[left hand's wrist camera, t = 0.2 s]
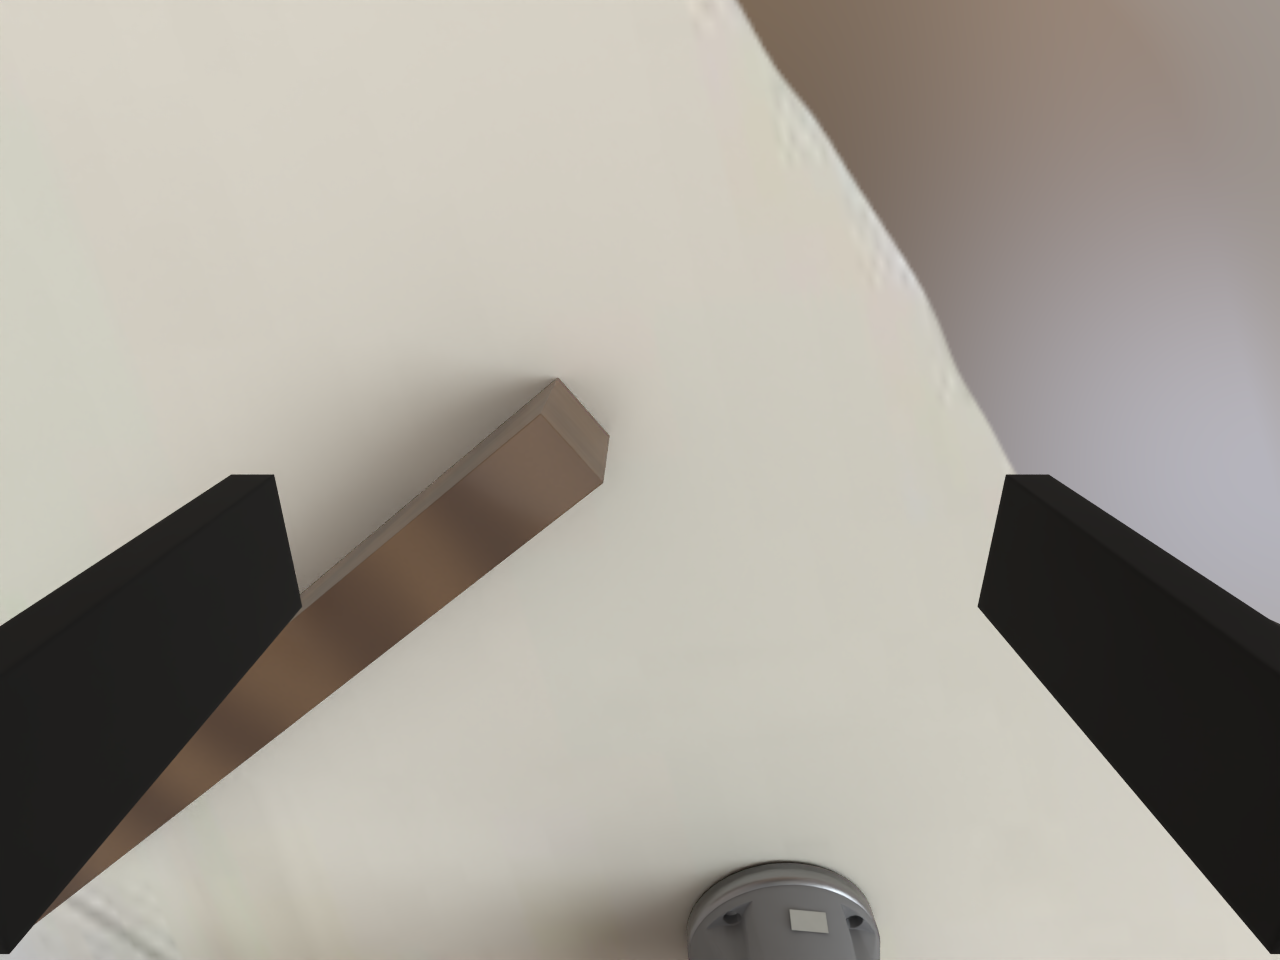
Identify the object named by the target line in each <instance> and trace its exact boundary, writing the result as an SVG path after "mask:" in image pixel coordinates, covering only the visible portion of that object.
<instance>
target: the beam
mask: <svg viewBox="0 0 1280 960" xmlns="http://www.w3.org/2000/svg"><path fill="white" fill-rule="evenodd" d="M608 443H609V435H608V434H607V433H606V431H605V430H604V429H603V428H602V427H601V426H600V425H599V423H598V422H597V421H596V420H595V419H594V418H593V417H592V416H591V414H590V413H589V412H588V411H587V410H586V409H585V408H584V406H583V405H582V404H581V403H580V402H579V401H578V400H577V399H576V397H575V396H574V395H573V394H572V393H571V392H570V391H569V389H568V388H567V387H566V386H565V385H564V384H563V383H562V382H561V380H560V379H559V378H557V379H556V380H554V381H553V382H552V383H551V384H550V385H548V386H547V387H546V388H545V389H544V390H543V391H541V392H540V393H539V394H538V395H537V396H535V397H534V398H533V399H532V400H531V401H529V402H528V403H527V404H526V405H525V406H523V407H522V408H521V409H520V410H519V411H518V412H516V413H515V414H514V415H513V416H512V417H510V418H509V419H508V420H507V421H506V422H504V423H503V424H502V425H501V426H500V427H499V428H497V429H496V430H495V431H494V432H493V433H491V434H490V435H489V436H488V437H487V438H485V439H484V440H483V441H482V442H481V443H480V444H478V445H477V446H476V447H475V448H474V449H472V450H471V451H470V452H469V453H468V454H466V455H465V456H464V457H463V458H462V459H461V460H459V461H458V462H457V463H456V464H455V465H453V466H452V467H451V468H450V469H449V470H447V471H446V472H445V473H444V474H443V475H442V476H440V477H439V478H438V479H437V480H436V481H434V482H433V483H432V484H431V485H430V486H428V487H427V488H426V489H425V490H424V491H423V492H421V493H420V494H419V495H418V496H417V497H415V498H414V499H413V500H412V501H411V502H409V503H408V504H407V505H406V506H405V507H404V508H402V509H401V510H400V511H399V512H398V513H396V514H395V515H394V516H393V517H392V518H390V519H389V520H388V521H387V522H386V523H385V524H383V525H382V526H381V527H380V528H379V529H377V530H376V531H375V532H374V533H373V534H371V535H370V536H369V537H368V538H367V539H366V540H364V541H363V542H362V543H361V544H360V545H358V546H357V547H356V548H355V549H354V550H352V551H351V552H350V553H349V554H348V555H347V556H345V557H344V558H343V559H342V560H341V561H339V562H338V563H337V564H336V565H335V566H333V567H332V568H331V569H330V570H329V571H328V572H326V573H325V574H324V575H323V576H322V577H320V578H319V579H318V580H317V581H316V582H314V583H313V584H312V585H311V586H310V587H309V588H307V589H306V590H305V591H304V592H303V593H301V594H300V598H301V603H302V608H301V609H300V610H299V611H298V612H297V614H296V615H295V616H294V617H293V618H292V620H291V621H290V622H289V623H288V624H287V625H286V627H285V628H284V629H283V630H282V631H281V633H280V634H279V635H278V636H277V637H276V639H275V640H274V641H273V642H272V643H271V644H270V646H269V647H268V648H267V649H266V650H265V652H264V653H263V654H262V655H261V656H260V657H259V659H258V660H257V661H256V662H255V663H254V665H253V666H252V667H251V668H250V669H249V671H248V672H247V673H246V674H245V675H244V676H243V678H242V679H241V680H240V681H239V682H238V684H237V685H236V686H235V687H234V688H233V689H232V691H231V692H230V693H229V694H228V695H227V697H226V698H225V699H224V700H223V701H222V703H221V704H220V705H219V706H218V707H217V708H216V710H215V711H214V712H213V713H212V714H211V716H210V717H209V718H208V719H207V720H206V721H205V723H204V724H203V725H202V726H201V727H200V729H199V730H198V731H197V732H196V733H195V735H194V736H193V737H192V738H191V739H190V740H189V742H188V743H187V744H186V745H185V746H184V748H183V749H182V750H181V751H180V752H179V753H178V755H177V756H176V757H175V758H174V759H173V761H172V762H171V763H170V764H169V765H168V767H167V768H166V769H165V770H164V771H163V772H162V774H161V775H160V776H159V777H158V778H157V780H156V781H155V782H154V783H153V784H152V785H151V787H150V788H149V789H148V790H147V791H146V793H145V794H144V795H143V796H142V797H141V799H140V800H139V801H138V802H137V803H136V804H135V806H134V807H133V808H132V809H131V810H130V812H129V813H128V814H127V815H126V816H125V817H124V819H123V820H122V821H121V822H120V823H119V825H118V826H117V827H116V828H115V829H114V831H113V832H112V833H111V834H110V835H109V836H108V838H107V839H106V840H105V841H104V842H103V844H102V845H101V846H100V847H99V848H98V849H97V851H96V852H95V853H94V854H93V855H92V857H91V858H90V859H89V860H88V861H87V863H86V864H85V865H84V866H83V867H82V868H81V870H80V871H79V872H78V873H77V874H76V876H75V877H74V878H73V879H72V880H71V881H70V883H69V884H68V885H67V886H66V887H65V889H64V890H63V891H62V892H61V893H60V895H59V896H58V897H57V898H56V899H55V900H54V902H53V903H52V904H51V905H50V906H49V908H48V909H47V910H46V911H45V912H44V913H43V915H42V916H41V917H40V918H39V919H38V921H40V920H41V919H42V918H44V917H45V916H46V915H47V914H49V913H50V912H51V911H53V910H54V909H55V908H56V907H58V906H59V905H60V904H62V903H63V902H64V901H65V900H67V899H68V898H69V897H71V896H72V895H73V894H74V893H76V892H77V891H78V890H80V889H81V888H82V887H83V886H85V885H86V884H87V883H89V882H90V881H91V880H92V879H94V878H95V877H96V876H98V875H99V874H100V873H101V872H103V871H104V870H105V869H107V868H108V867H109V866H110V865H112V864H113V863H114V862H116V861H117V860H118V859H119V858H121V857H122V856H123V855H125V854H126V853H127V852H128V851H130V850H131V849H132V848H134V847H135V846H136V845H138V844H139V843H140V842H141V841H143V840H144V839H145V838H147V837H148V836H149V835H150V834H152V833H153V832H154V831H156V830H157V829H158V828H159V827H161V826H162V825H163V824H165V823H166V822H167V821H168V820H170V819H171V818H172V817H174V816H175V815H176V814H177V813H179V812H180V811H181V810H183V809H184V808H185V807H186V806H188V805H189V804H190V803H192V802H193V801H194V800H195V799H197V798H198V797H199V796H201V795H202V794H203V793H204V792H206V791H207V790H208V789H210V788H211V787H212V786H213V785H215V784H216V783H217V782H219V781H220V780H221V779H222V778H224V777H225V776H226V775H228V774H229V773H230V772H231V771H233V770H234V769H235V768H237V767H238V766H239V765H240V764H242V763H243V762H244V761H246V760H247V759H248V758H250V757H251V756H252V755H253V754H255V753H256V752H257V751H259V750H260V749H261V748H262V747H264V746H265V745H266V744H268V743H269V742H270V741H271V740H273V739H274V738H275V737H277V736H278V735H279V734H280V733H282V732H283V731H284V730H286V729H287V728H288V727H289V726H291V725H292V724H293V723H295V722H296V721H297V720H298V719H300V718H301V717H302V716H304V715H305V714H306V713H307V712H309V711H310V710H311V709H313V708H314V707H315V706H316V705H318V704H319V703H320V702H322V701H323V700H324V699H325V698H327V697H328V696H329V695H331V694H332V693H333V692H334V691H336V690H337V689H338V688H340V687H341V686H342V685H343V684H345V683H346V682H347V681H349V680H350V679H351V678H352V677H354V676H355V675H356V674H358V673H359V672H360V671H362V670H363V669H364V668H365V667H367V666H368V665H369V664H371V663H372V662H373V661H374V660H376V659H377V658H378V657H380V656H381V655H382V654H383V653H385V652H386V651H387V650H389V649H390V648H391V647H392V646H394V645H395V644H396V643H398V642H399V641H400V640H401V639H403V638H404V637H405V636H407V635H408V634H409V633H410V632H412V631H413V630H414V629H416V628H417V627H418V626H419V625H421V624H422V623H423V622H425V621H426V620H427V619H428V618H430V617H431V616H432V615H434V614H435V613H436V612H437V611H439V610H440V609H441V608H443V607H444V606H445V605H446V604H448V603H449V602H450V601H452V600H453V599H454V598H455V597H457V596H458V595H459V594H461V593H462V592H463V591H464V590H466V589H467V588H468V587H470V586H471V585H472V584H474V583H475V582H476V581H477V580H479V579H480V578H481V577H483V576H484V575H485V574H486V573H488V572H489V571H490V570H492V569H493V568H494V567H495V566H497V565H498V564H499V563H501V562H502V561H503V560H504V559H506V558H507V557H508V556H510V555H511V554H512V553H513V552H515V551H516V550H517V549H519V548H520V547H521V546H522V545H524V544H525V543H526V542H528V541H529V540H530V539H531V538H533V537H534V536H535V535H537V534H538V533H539V532H540V531H542V530H543V529H544V528H546V527H547V526H548V525H549V524H551V523H552V522H553V521H555V520H556V519H557V518H558V517H560V516H561V515H562V514H564V513H565V512H566V511H567V510H569V509H570V508H571V507H573V506H574V505H575V504H576V503H578V502H579V501H580V500H582V499H583V498H584V497H585V496H587V495H588V494H589V493H591V492H592V491H593V490H595V489H596V488H597V487H598V486H600V485H601V484H602V483H603V481H604V473H605V466H606V458H607V451H608ZM38 921H37V922H38ZM37 922H36V923H37ZM36 923H35V924H36ZM35 924H34V925H35Z"/></svg>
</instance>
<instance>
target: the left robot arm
mask: <svg viewBox="0 0 1280 960" xmlns="http://www.w3.org/2000/svg"><path fill="white" fill-rule="evenodd" d="M301 608H302V603H301V598H300V593H299V589H298V584H297V579H296V575H295V570H294V565H293V561H292V556H291V551H290V547H289V542H288V537H287V533H286V528H285V523H284V519H283V514H282V509H281V505H280V500H279V495H278V491H277V486H276V481H275V477H274V475H230V476H228V477H227V478H225V479H224V480H222V481H221V482H219V483H218V484H216V485H215V486H213V487H212V488H210V489H209V490H207V491H206V492H204V493H203V494H201V495H199V496H198V497H196V498H195V499H193V500H192V501H190V502H189V503H187V504H186V505H184V506H183V507H181V508H180V509H178V510H177V511H175V512H174V513H172V514H171V515H169V516H167V517H166V518H164V519H163V520H161V521H160V522H158V523H157V524H155V525H154V526H152V527H151V528H149V529H148V530H146V531H145V532H143V533H142V534H140V535H139V536H137V537H135V538H134V539H132V540H131V541H129V542H128V543H126V544H125V545H123V546H122V547H120V548H119V549H117V550H116V551H114V552H113V553H111V554H110V555H108V556H107V557H105V558H103V559H102V560H100V561H99V562H97V563H96V564H94V565H93V566H91V567H90V568H88V569H87V570H85V571H84V572H82V573H81V574H79V575H78V576H76V577H74V578H73V579H71V580H70V581H68V582H67V583H65V584H64V585H62V586H61V587H59V588H58V589H56V590H55V591H53V592H52V593H50V594H49V595H47V596H46V597H44V598H42V599H41V600H39V601H38V602H36V603H35V604H33V605H32V606H30V607H29V608H27V609H26V610H24V611H23V612H21V613H20V614H18V615H17V616H15V617H14V618H12V619H10V620H9V621H7V622H6V623H4V624H3V625H1V626H0V954H10V953H11V951H12V950H13V949H14V948H15V947H16V945H17V944H18V943H19V942H20V941H21V940H22V938H23V937H24V936H25V935H26V934H27V932H28V931H29V930H30V929H31V928H32V927H33V925H34V924H35V923H36V922H37V921H38V919H39V918H40V917H41V916H42V915H43V913H44V912H45V911H46V910H47V909H48V908H49V906H50V905H51V904H52V903H53V902H54V900H55V899H56V898H57V897H58V896H59V895H60V893H61V892H62V891H63V890H64V889H65V887H66V886H67V885H68V884H69V883H70V881H71V880H72V879H73V878H74V877H75V876H76V874H77V873H78V872H79V871H80V870H81V868H82V867H83V866H84V865H85V864H86V863H87V861H88V860H89V859H90V858H91V857H92V855H93V854H94V853H95V852H96V851H97V849H98V848H99V847H100V846H101V845H102V844H103V842H104V841H105V840H106V839H107V838H108V836H109V835H110V834H111V833H112V832H113V831H114V829H115V828H116V827H117V826H118V825H119V823H120V822H121V821H122V820H123V819H124V817H125V816H126V815H127V814H128V813H129V812H130V810H131V809H132V808H133V807H134V806H135V804H136V803H137V802H138V801H139V800H140V799H141V797H142V796H143V795H144V794H145V793H146V791H147V790H148V789H149V788H150V787H151V785H152V784H153V783H154V782H155V781H156V780H157V778H158V777H159V776H160V775H161V774H162V772H163V771H164V770H165V769H166V768H167V767H168V765H169V764H170V763H171V762H172V761H173V759H174V758H175V757H176V756H177V755H178V753H179V752H180V751H181V750H182V749H183V748H184V746H185V745H186V744H187V743H188V742H189V740H190V739H191V738H192V737H193V736H194V735H195V733H196V732H197V731H198V730H199V729H200V727H201V726H202V725H203V724H204V723H205V721H206V720H207V719H208V718H209V717H210V716H211V714H212V713H213V712H214V711H215V710H216V708H217V707H218V706H219V705H220V704H221V703H222V701H223V700H224V699H225V698H226V697H227V695H228V694H229V693H230V692H231V691H232V689H233V688H234V687H235V686H236V685H237V684H238V682H239V681H240V680H241V679H242V678H243V676H244V675H245V674H246V673H247V672H248V671H249V669H250V668H251V667H252V666H253V665H254V663H255V662H256V661H257V660H258V659H259V657H260V656H261V655H262V654H263V653H264V652H265V650H266V649H267V648H268V647H269V646H270V644H271V643H272V642H273V641H274V640H275V639H276V637H277V636H278V635H279V634H280V633H281V631H282V630H283V629H284V628H285V627H286V625H287V624H288V623H289V622H290V621H291V620H292V618H293V617H294V616H295V615H296V614H297V612H298V611H299V610H300V609H301ZM978 608H979V609H980V610H981V611H982V612H983V614H984V615H985V616H986V617H987V618H988V620H989V621H990V622H991V623H992V624H993V625H994V627H995V628H996V629H997V630H998V631H999V633H1000V634H1001V635H1002V636H1003V637H1004V639H1005V640H1006V641H1007V642H1008V643H1009V644H1010V646H1011V647H1012V648H1013V649H1014V650H1015V652H1016V653H1017V654H1018V655H1019V656H1020V657H1021V659H1022V660H1023V661H1024V662H1025V663H1026V665H1027V666H1028V667H1029V668H1030V669H1031V671H1032V672H1033V673H1034V674H1035V675H1036V676H1037V678H1038V679H1039V680H1040V681H1041V682H1042V684H1043V685H1044V686H1045V687H1046V688H1047V689H1048V691H1049V692H1050V693H1051V694H1052V695H1053V697H1054V698H1055V699H1056V700H1057V701H1058V703H1059V704H1060V705H1061V706H1062V707H1063V708H1064V710H1065V711H1066V712H1067V713H1068V714H1069V716H1070V717H1071V718H1072V719H1073V720H1074V721H1075V723H1076V724H1077V725H1078V726H1079V727H1080V729H1081V730H1082V731H1083V732H1084V733H1085V735H1086V736H1087V737H1088V738H1089V739H1090V740H1091V742H1092V743H1093V744H1094V745H1095V746H1096V748H1097V749H1098V750H1099V751H1100V752H1101V753H1102V755H1103V756H1104V757H1105V758H1106V759H1107V761H1108V762H1109V763H1110V764H1111V765H1112V767H1113V768H1114V769H1115V770H1116V771H1117V772H1118V774H1119V775H1120V776H1121V777H1122V778H1123V780H1124V781H1125V782H1126V783H1127V784H1128V785H1129V787H1130V788H1131V789H1132V790H1133V791H1134V793H1135V794H1136V795H1137V796H1138V797H1139V799H1140V800H1141V801H1142V802H1143V803H1144V804H1145V806H1146V807H1147V808H1148V809H1149V810H1150V812H1151V813H1152V814H1153V815H1154V816H1155V817H1156V819H1157V820H1158V821H1159V822H1160V823H1161V825H1162V826H1163V827H1164V828H1165V829H1166V831H1167V832H1168V833H1169V834H1170V835H1171V836H1172V838H1173V839H1174V840H1175V841H1176V842H1177V844H1178V845H1179V846H1180V847H1181V848H1182V849H1183V851H1184V852H1185V853H1186V854H1187V855H1188V857H1189V858H1190V859H1191V860H1192V861H1193V863H1194V864H1195V865H1196V866H1197V867H1198V868H1199V870H1200V871H1201V872H1202V873H1203V874H1204V876H1205V877H1206V878H1207V879H1208V880H1209V881H1210V883H1211V884H1212V885H1213V886H1214V887H1215V889H1216V890H1217V891H1218V892H1219V893H1220V895H1221V896H1222V897H1223V898H1224V899H1225V900H1226V902H1227V903H1228V904H1229V905H1230V906H1231V908H1232V909H1233V910H1234V911H1235V912H1236V913H1237V915H1238V916H1239V917H1240V918H1241V919H1242V921H1243V922H1244V923H1245V924H1246V925H1247V927H1248V928H1249V929H1250V930H1251V931H1252V932H1253V934H1254V935H1255V936H1256V937H1257V938H1258V940H1259V941H1260V942H1261V943H1262V944H1263V945H1264V947H1265V948H1266V949H1267V950H1268V951H1269V953H1270V954H1280V624H1279V623H1276V622H1274V621H1272V620H1270V619H1268V618H1266V617H1265V616H1263V615H1262V614H1260V613H1259V612H1257V611H1256V610H1254V609H1253V608H1251V607H1250V606H1248V605H1247V604H1245V603H1244V602H1242V601H1241V600H1239V599H1238V598H1236V597H1234V596H1233V595H1231V594H1230V593H1228V592H1227V591H1225V590H1224V589H1222V588H1221V587H1219V586H1218V585H1216V584H1215V583H1213V582H1212V581H1210V580H1209V579H1207V578H1205V577H1204V576H1202V575H1201V574H1199V573H1198V572H1196V571H1195V570H1193V569H1192V568H1190V567H1189V566H1187V565H1186V564H1184V563H1183V562H1181V561H1180V560H1178V559H1176V558H1175V557H1173V556H1172V555H1170V554H1169V553H1167V552H1166V551H1164V550H1163V549H1161V548H1160V547H1158V546H1157V545H1155V544H1154V543H1152V542H1151V541H1149V540H1148V539H1146V538H1145V537H1143V536H1141V535H1140V534H1138V533H1137V532H1135V531H1134V530H1132V529H1131V528H1129V527H1128V526H1126V525H1125V524H1123V523H1122V522H1120V521H1119V520H1117V519H1116V518H1114V517H1113V516H1111V515H1109V514H1108V513H1106V512H1105V511H1103V510H1102V509H1100V508H1099V507H1097V506H1096V505H1094V504H1093V503H1091V502H1090V501H1088V500H1087V499H1085V498H1084V497H1082V496H1081V495H1079V494H1077V493H1076V492H1074V491H1073V490H1071V489H1070V488H1068V487H1067V486H1065V485H1064V484H1062V483H1061V482H1059V481H1058V480H1056V479H1055V478H1053V477H1052V476H1050V475H1006V477H1005V481H1004V486H1003V491H1002V495H1001V500H1000V505H999V509H998V514H997V519H996V523H995V528H994V533H993V537H992V542H991V547H990V551H989V556H988V561H987V565H986V570H985V575H984V579H983V584H982V589H981V593H980V598H979V603H978ZM687 943H688V957H689V960H880V936H879V932H878V928H877V925H876V922H875V919H874V916H873V913H872V910H871V907H870V905H869V903H868V901H867V899H866V897H865V896H864V894H863V893H862V892H861V891H860V890H859V889H858V888H857V887H856V886H855V885H854V884H853V883H852V882H850V881H849V880H847V879H846V878H844V877H843V876H841V875H839V874H837V873H835V872H832V871H830V870H827V869H824V868H821V867H817V866H812V865H807V864H799V863H775V864H767V865H761V866H756V867H752V868H749V869H745V870H742V871H740V872H737V873H735V874H733V875H730V876H728V877H726V878H725V879H723V880H721V881H719V882H718V883H717V884H715V885H714V886H712V887H711V888H710V889H709V890H708V891H706V892H705V893H704V894H703V895H702V896H701V898H700V899H699V900H698V901H697V903H696V904H695V906H694V908H693V909H692V912H691V914H690V917H689V920H688V925H687Z"/></svg>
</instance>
